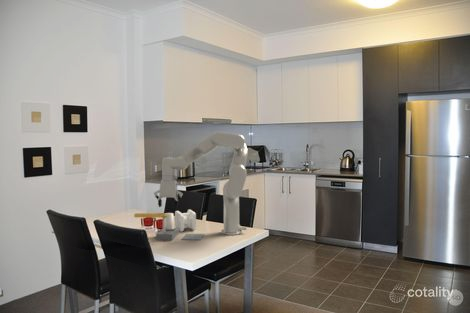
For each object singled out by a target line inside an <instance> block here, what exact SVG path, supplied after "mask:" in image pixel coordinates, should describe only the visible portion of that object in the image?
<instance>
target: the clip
mask: <svg viewBox="0 0 470 313" xmlns="http://www.w3.org/2000/svg"><path fill="white" fill-rule="evenodd" d="M166 213H167V212H166ZM166 213H165V212H163V213H161V212H160V213H159V212H157V213H156V212H155V213H153V212H152V213H151V212H150V213H149V212H148V213H147V212H145V213H144V212H143V213H139V212H136V213H134V218H163V217H167V214H166Z"/></svg>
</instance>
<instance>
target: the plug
mask: <svg viewBox="0 0 470 313" xmlns="http://www.w3.org/2000/svg"><path fill="white" fill-rule="evenodd" d="M166 214H167V217H166V231H174V229H175V228H176V227H175V213H173V212H166Z"/></svg>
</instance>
